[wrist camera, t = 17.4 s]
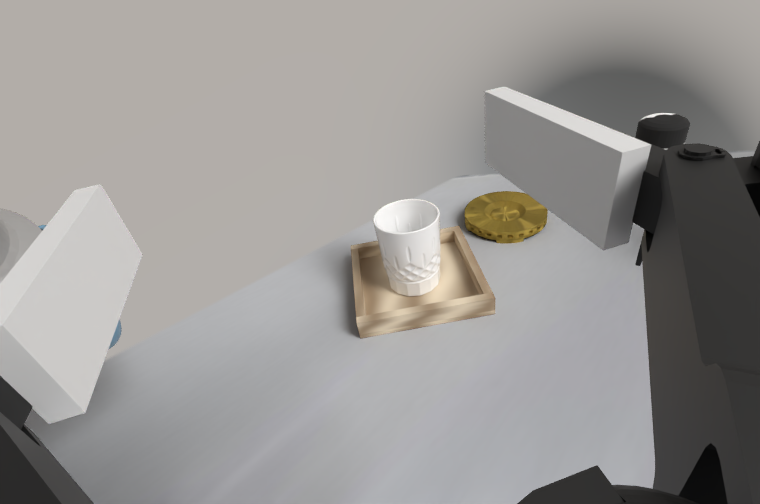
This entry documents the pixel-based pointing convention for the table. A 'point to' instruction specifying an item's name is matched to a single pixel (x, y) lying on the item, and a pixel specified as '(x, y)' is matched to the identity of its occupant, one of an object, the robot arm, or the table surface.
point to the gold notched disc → (505, 216)
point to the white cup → (410, 245)
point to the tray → (442, 305)
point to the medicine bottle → (663, 130)
